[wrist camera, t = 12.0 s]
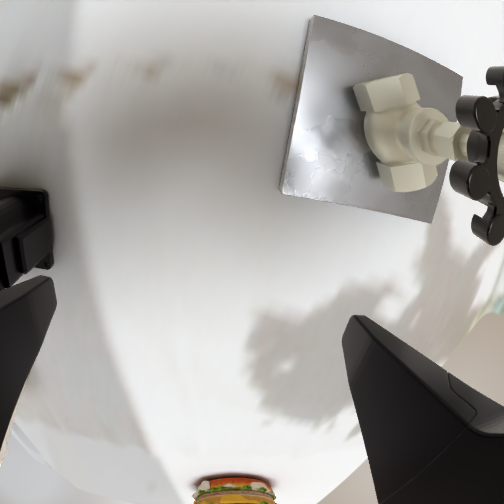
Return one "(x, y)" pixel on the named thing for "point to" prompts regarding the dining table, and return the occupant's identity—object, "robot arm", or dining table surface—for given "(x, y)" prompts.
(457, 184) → the valve
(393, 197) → the steel seat plate
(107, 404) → the dining table surface
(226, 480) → the burger
